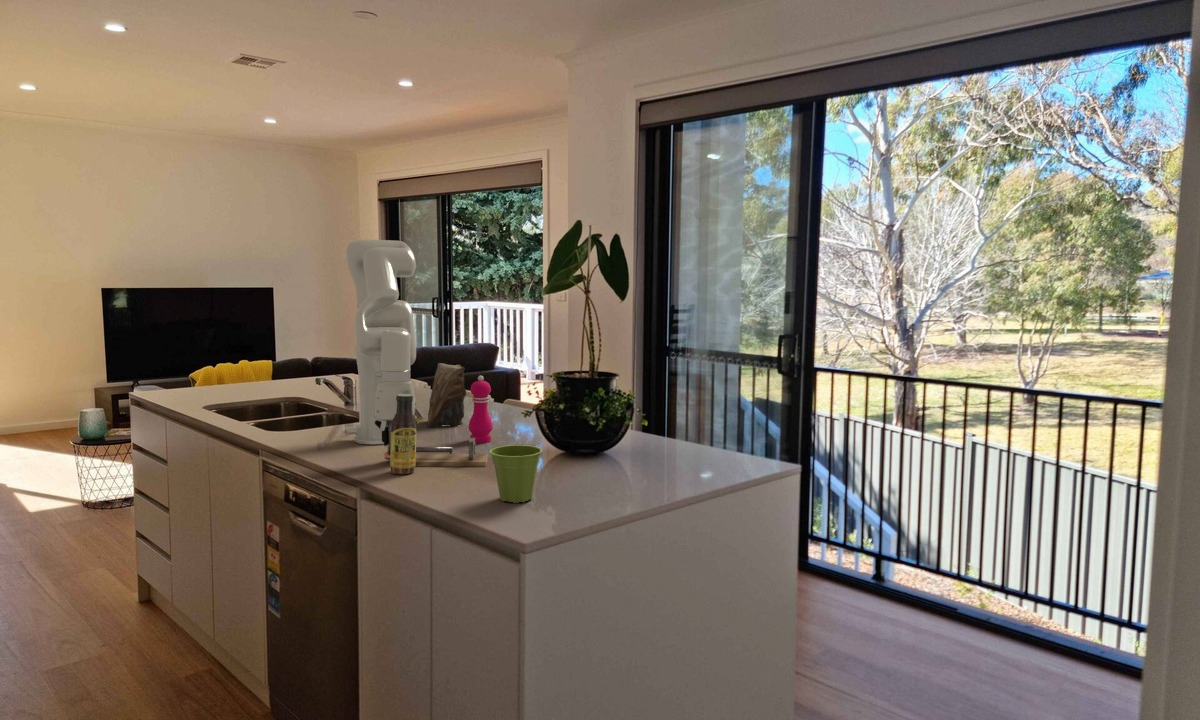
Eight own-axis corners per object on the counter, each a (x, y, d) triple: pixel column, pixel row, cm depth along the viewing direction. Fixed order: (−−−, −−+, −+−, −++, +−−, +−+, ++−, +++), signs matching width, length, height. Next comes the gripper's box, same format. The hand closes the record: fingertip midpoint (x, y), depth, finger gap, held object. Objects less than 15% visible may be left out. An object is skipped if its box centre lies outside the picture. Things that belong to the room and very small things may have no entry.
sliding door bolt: (381, 460, 205) (381, 417, 204) (386, 454, 212) (386, 413, 211) (450, 460, 207) (450, 418, 206) (453, 454, 213) (453, 414, 212)
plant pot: (521, 489, 185) (522, 442, 184) (552, 500, 176) (553, 451, 175) (478, 497, 177) (478, 448, 176) (508, 510, 168) (509, 458, 167)
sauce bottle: (393, 476, 194) (392, 397, 192) (387, 471, 200) (386, 393, 198) (419, 474, 197) (418, 395, 195) (413, 468, 203) (412, 392, 201)
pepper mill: (495, 439, 240) (495, 374, 238) (489, 444, 233) (489, 377, 231) (472, 438, 241) (472, 373, 239) (465, 443, 234) (465, 376, 232)
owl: (431, 420, 270) (431, 362, 268) (469, 420, 270) (469, 362, 268) (426, 427, 257) (425, 366, 255) (465, 427, 258) (465, 367, 256)
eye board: (400, 466, 205) (400, 443, 204) (407, 458, 214) (406, 436, 213) (485, 466, 206) (485, 443, 206) (488, 458, 215) (488, 436, 214)
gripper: (359, 378, 202) (360, 447, 204) (426, 379, 203) (426, 448, 205) (366, 374, 210) (367, 441, 212) (430, 375, 211) (430, 442, 213)
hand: (396, 444), depth 208 cm, fingers closed on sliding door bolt, 4 cm apart
